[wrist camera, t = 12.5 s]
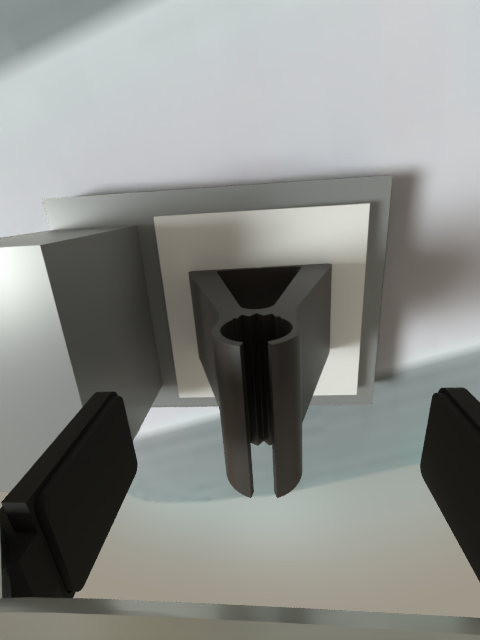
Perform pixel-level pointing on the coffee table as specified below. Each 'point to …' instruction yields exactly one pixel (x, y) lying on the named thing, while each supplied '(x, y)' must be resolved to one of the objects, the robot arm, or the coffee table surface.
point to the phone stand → (263, 359)
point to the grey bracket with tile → (171, 297)
